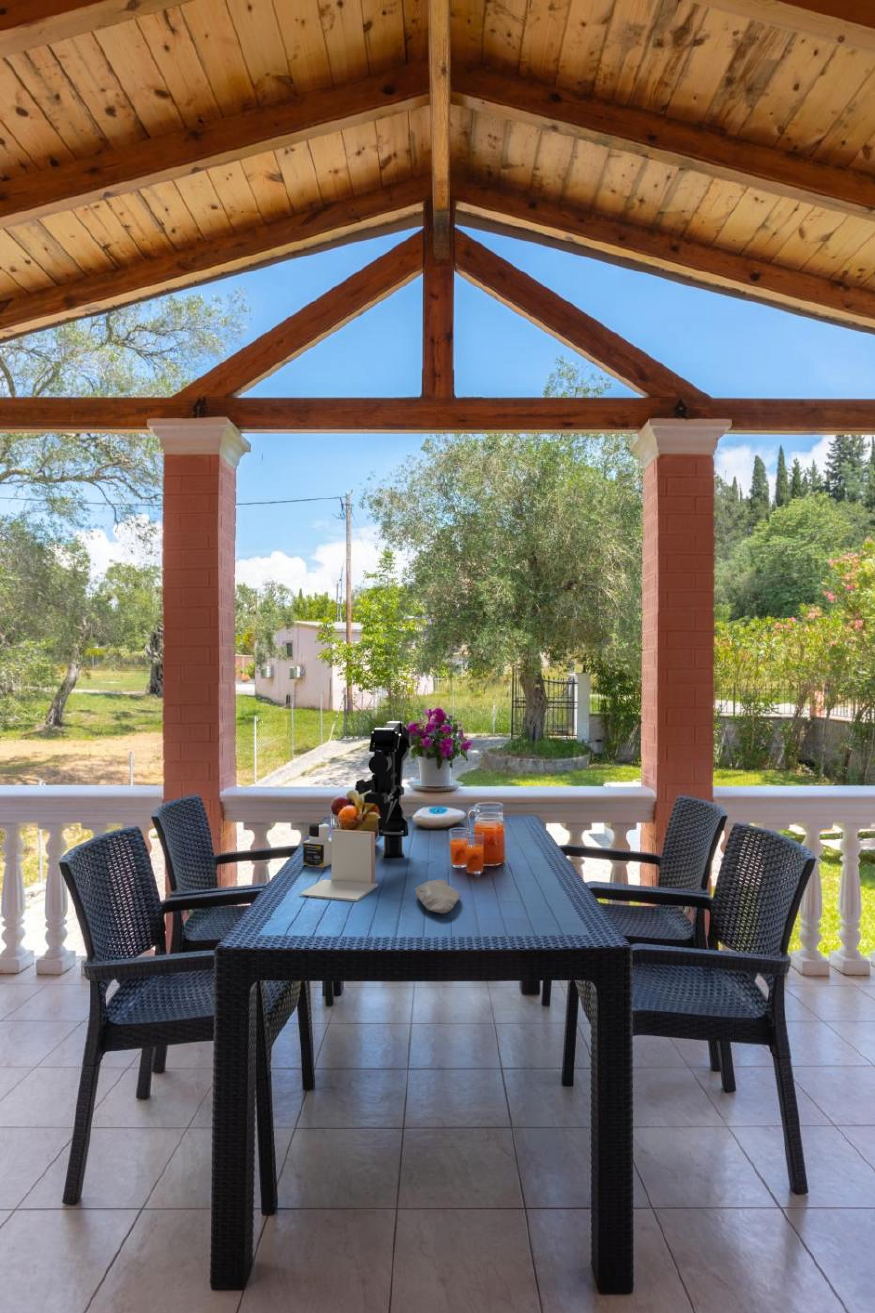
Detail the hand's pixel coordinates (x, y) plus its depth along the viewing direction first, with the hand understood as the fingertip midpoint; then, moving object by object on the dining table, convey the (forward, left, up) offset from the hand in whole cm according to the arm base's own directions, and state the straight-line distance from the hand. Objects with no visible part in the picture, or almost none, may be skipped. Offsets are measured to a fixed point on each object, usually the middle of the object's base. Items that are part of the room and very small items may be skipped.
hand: (384, 823), depth 243 cm
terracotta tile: (+15, -10, -13) cm, 22 cm away
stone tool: (+39, +10, -14) cm, 43 cm away
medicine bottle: (-7, -19, -13) cm, 24 cm away
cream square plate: (+23, -14, -13) cm, 30 cm away
